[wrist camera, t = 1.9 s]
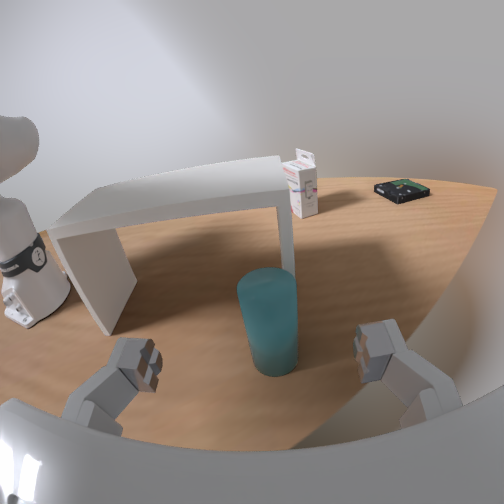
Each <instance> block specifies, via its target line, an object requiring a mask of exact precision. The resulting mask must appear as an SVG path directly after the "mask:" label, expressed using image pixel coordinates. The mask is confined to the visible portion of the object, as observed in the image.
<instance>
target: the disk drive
mask: <svg viewBox="0 0 504 504" xmlns="http://www.w3.org/2000/svg"><path fill="white" fill-rule="evenodd" d="M374 192H376V193H378V194H379V195H381V196H383V197H385V198H387V199H389V200H390V201H392V202H394V203H396V204H401V203H405V202H408V201H412V200H416V199H420V198H424V197H427V196H429V193H430V189H429V188H427V187H425V186H422V185H421V184H418V183H415V182H412V181H410V180H409V179H401V180H396V181H391V182H386V183H381V184H376V185H374Z"/></svg>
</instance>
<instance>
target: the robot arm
mask: <svg viewBox="0 0 504 504" xmlns="http://www.w3.org/2000/svg"><path fill="white" fill-rule="evenodd" d="M38 147H39V135H38V131H37V129H36V126H35V125H34V123H33V122H32V121H31V120H29V119H28V118H26V117H4V116H0V183H2V182H3V181H5V180H7V179H8V178H10V177H12V176H13V175H15V174H17V173H18V172H19V171H21V170H22V169H23V168H24V167H26V166H27V165H28V164H29V163H30V162H32V161H33V160H34V159H35V157H36V154H37V151H38ZM45 248H46V247H45V245H44V243H43V239H42V238H41V236H40V234H39V233H37V232H36V229H35V227H34V225H33V222H32V220H31V218H30V215H29V213H28V210H27V208H26V205H25V204H24V203H23V202H22V201H20V200H18V199H15V198H4V197H2V196H1V195H0V270H1V271H2V274H3V276H4V279H3V286H2V296H3V298H4V299H3V302H4V304H5V305H6V310H5V315H6V317H7V318H9V319H11V320H13V321H14V322H16V323H18V324H20V325H22V326H23V327H25V328H30V327H31V326H32V325H34V324H35V323H36V322H37V321H39V320H41V319H43V318H45V317H46V316H48V315H49V314H51V313H52V312H54V311H55V310H56V309H57V308H58V307H59V306H60V305H61V304H62V303H63V301H64V300H65V299H66V297H67V296H68V294H69V291H70V283H69V281H68V280H67V274H66V272H65V271H63V272H62V270H61V269H60V267H59V266H58V264H57V263H56V261H55V259H54V258H53V256H52V255H51V253H50V252H49V251H47V250H45ZM356 334H357V336H356V337H355V338H354V342H353V353H354V358H355V361H356V362H358V363H359V367H358V373H359V377H360V381H361V383H367V382H372V381H377V380H381V382H382V383H384V385H385V386H386V387H387V388H389V390H390V391H391V392H393V394H394V395H395V396H396V397H398V399H399V400H401V402H403V404H404V405H406V407H407V408H408V409H407V410H406V411H405V413H404V414H403V415H402V416H401V418H400V419H399V422H400V426H401V429H400V430H397V431H393V432H390V433H386V434H383V435H378V436H374V437H370V438H366V439H361V440H356V441H352V442H346V443H340V444H334V445H328V446H321V447H313V448H304V449H294V450H279V451H215V450H201V449H191V448H182V447H174V446H167V445H161V444H155V443H149V442H144V441H139V440H134V439H129V438H125V437H121V434H122V430H123V428H122V426H121V425H120V424H119V423H117V422H116V421H115V419H116V418H117V417H118V415H119V414H120V413H121V412H122V411H123V410H124V409H125V407H126V406H127V405H128V404H129V403H130V402H131V401H132V399H133V398H134V397H135V396H136V395H137V394H138V393H139V392H138V391H141V392H153V393H155V392H156V389H157V385H158V381H159V379H158V377H157V375H158V374H159V373H160V372H161V370H162V366H163V359H162V356H161V353H160V352H159V351H158V350H157V349H155V348H154V346H155V343H154V342H153V340H152V339H139V338H122V337H120V338H119V339H118V340H117V342H116V344H115V347H114V349H113V351H112V354H111V356H110V358H109V361H108V363H107V366H106V367H105V366H103V367H102V368H101V369H100V370H99V371H97V372H96V373H95V374H94V375H93V376H91V377H90V378H89V379H88V380H87V381H86V382H84V383H83V384H82V385H81V386H80V387H78V388H77V389H76V390H75V391H74V392H72V393H71V394H70V396H69V398H68V400H67V403H66V406H65V408H64V411H63V413H62V416H61V418H60V417H57V416H55V415H52V414H50V413H47V412H45V411H43V410H40V409H38V408H36V407H34V406H31V405H29V404H27V403H25V402H23V401H21V400H19V399H17V398H11V399H9V400H8V401H6V402H5V403H3V404H2V405H1V406H0V504H504V385H503V386H501V387H499V388H498V389H496V390H494V391H492V392H490V393H488V394H486V395H485V396H483V397H481V398H479V399H477V400H475V401H473V402H471V403H468V404H467V405H464V406H463V405H462V402H461V399H460V397H459V394H458V391H457V389H456V386H455V384H454V381H453V379H452V378H450V377H449V376H448V375H446V374H445V373H444V372H442V371H441V370H439V369H438V368H437V367H435V366H434V365H432V364H431V363H430V362H428V361H427V360H426V359H424V358H423V357H421V356H420V355H419V354H417V353H416V352H414V351H413V350H408V348H407V346H406V343H405V341H404V338H403V336H402V334H401V332H400V329H399V327H398V325H397V323H396V321H395V320H394V319H389V320H383V321H376V322H371V323H365V324H360V325H357V327H356Z"/></svg>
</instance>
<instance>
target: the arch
mask: <svg viewBox="0 0 504 504" xmlns="http://www.w3.org/2000/svg"><path fill="white" fill-rule="evenodd" d="M266 207H276V209H277V219H278V230H279V240H280V251H281V262H282V269H284V270H286V271H288V272H289V273H291V274H292V275H293V276H294V278H295V262H294V244H293V229H292V214H291V201H290V189H289V186H288V182H287V179H286V176H285V172H284V169H283V166H282V163H281V159H280V156H278V155H277V156H267V157H259V158H250V159H242V160H235V161H227V162H221V163H214V164H208V165H201V166H196V167H190V168H184V169H180V170H174V171H169V172H164V173H159V174H155V175H150V176H145V177H141V178H136V179H132V180H128V181H124V182H120V183H116V184H112V185H108V186H104V187H101V188H97V189H95V190H94V191H92V192H91V193H90V194H88V195H87V196H86V197H85V198H84V199H82V200H81V201H80V202H78V203H77V204H76V205H75V206H73V207H72V208H71V209H70V210H69V211H67V212H66V213H65V214H64V215H63V216H61V217H60V218H59V219H58V220H57V221H56V222H55V223H54V224H53V225H51V226H50V227H49V228H48V229H47V233H48V235H49V237H50V239H51V242H52V244H53V246H54V248H55V250H56V252H57V254H58V256H59V258H60V260H61V262H62V264H63V266H64V268H65V270H66V272H67V274H68V276H69V278H70V280H71V281H72V283H73V285H74V287H75V289H76V290H77V292H78V294H79V295H80V297H81V299H82V301H83V302H84V304H85V306H86V307H87V309H88V310H89V312H90V314H91V315H92V317H93V318H94V320H95V321H96V323H97V324H98V326H99V327H100V329H101V330H102V332H103V333H104V335H105V336H111V334H112V332H113V329H114V327H115V325H116V323H117V321H118V319H119V317H120V315H121V313H122V311H123V309H124V307H125V305H126V303H127V301H128V299H129V297H130V295H131V293H132V291H133V289H134V287H135V285H136V283H137V280H136V277H135V275H134V273H133V271H132V268H131V266H130V264H129V261H128V259H127V257H126V254H125V252H124V249H123V247H122V244H121V242H120V239H119V237H118V234H117V232H116V229H115V228H120V227H126V226H132V225H138V224H144V223H150V222H157V221H163V220H170V219H177V218H184V217H191V216H199V215H206V214H214V213H222V212H230V211H239V210H248V209H257V208H266Z"/></svg>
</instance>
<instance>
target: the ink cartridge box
mask: <svg viewBox="0 0 504 504" xmlns="http://www.w3.org/2000/svg"><path fill="white" fill-rule="evenodd" d="M304 154H305V155H306V156H308V159H307V158H304V157H302V155H304ZM296 155H297V160H293V161H288V162H283V163H282V166H283V169H284V172H285V176H286V179H287V182H288V186H289V189H290V201H291V211H292V212H293V213H295V214H296V215H297V216H299V217H300V218H301V219H303V218H306V217H309V216H312V215H315V214H318V198H317V174H316V165H315V157H314V154H313V153H309V152H307V151H304V150H300V149H297V148H296Z"/></svg>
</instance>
